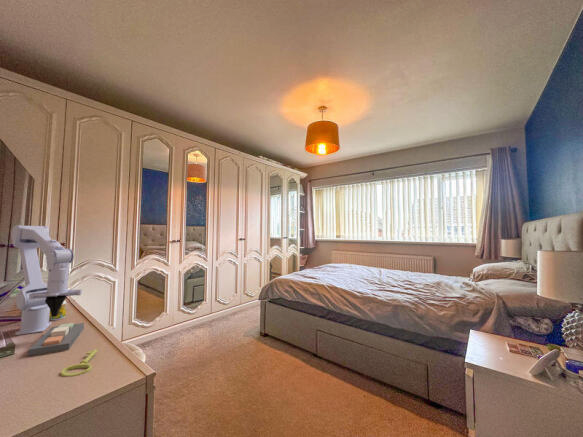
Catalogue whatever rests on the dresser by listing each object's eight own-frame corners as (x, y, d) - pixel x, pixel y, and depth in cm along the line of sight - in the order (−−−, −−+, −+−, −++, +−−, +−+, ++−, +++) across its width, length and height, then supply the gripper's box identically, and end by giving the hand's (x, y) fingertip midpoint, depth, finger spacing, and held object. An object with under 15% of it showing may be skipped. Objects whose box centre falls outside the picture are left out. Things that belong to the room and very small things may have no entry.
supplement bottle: (66, 315, 112) (68, 295, 112) (63, 319, 107) (65, 298, 108) (51, 317, 109) (52, 296, 109) (47, 321, 104) (49, 299, 105)
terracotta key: (47, 344, 83) (48, 337, 83) (62, 342, 85) (63, 335, 85) (42, 349, 80) (43, 342, 80) (58, 347, 82) (59, 340, 82)
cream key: (54, 334, 89) (55, 328, 89) (68, 332, 91) (69, 326, 91) (50, 338, 85) (51, 332, 86) (65, 336, 87) (65, 330, 88)
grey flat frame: (51, 332, 94) (51, 326, 94) (83, 328, 99) (84, 322, 99) (27, 356, 77) (28, 349, 77) (68, 349, 82) (69, 343, 82)
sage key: (60, 330, 94) (60, 324, 95) (73, 328, 96) (74, 322, 97) (56, 334, 91) (57, 328, 91) (70, 332, 93) (71, 326, 93)
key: (97, 354, 80) (97, 348, 80) (90, 374, 70) (90, 366, 70) (69, 360, 76) (69, 353, 76) (57, 381, 66) (57, 374, 66)
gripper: (26, 284, 85) (23, 322, 84) (79, 281, 92) (76, 316, 91) (35, 280, 91) (31, 316, 90) (84, 277, 98) (81, 310, 97)
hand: (54, 315), depth 91 cm, fingers closed
